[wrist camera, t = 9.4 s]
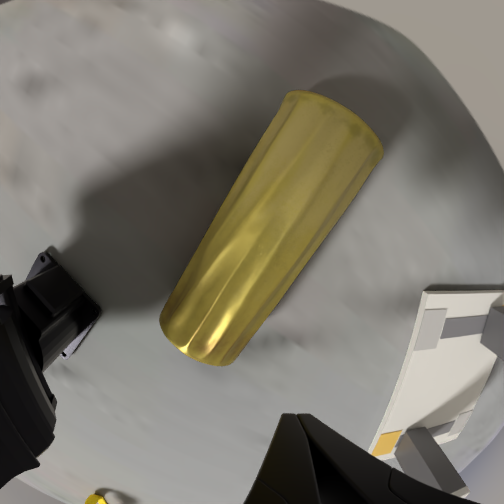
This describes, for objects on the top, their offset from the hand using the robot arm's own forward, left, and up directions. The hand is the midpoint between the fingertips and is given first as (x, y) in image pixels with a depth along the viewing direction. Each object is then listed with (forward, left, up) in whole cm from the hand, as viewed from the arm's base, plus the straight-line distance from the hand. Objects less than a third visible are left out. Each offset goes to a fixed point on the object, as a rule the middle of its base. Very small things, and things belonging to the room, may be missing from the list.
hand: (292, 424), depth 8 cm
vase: (+10, +4, -9) cm, 14 cm away
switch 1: (-1, -23, -11) cm, 25 cm away
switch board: (+5, -20, -12) cm, 24 cm away
